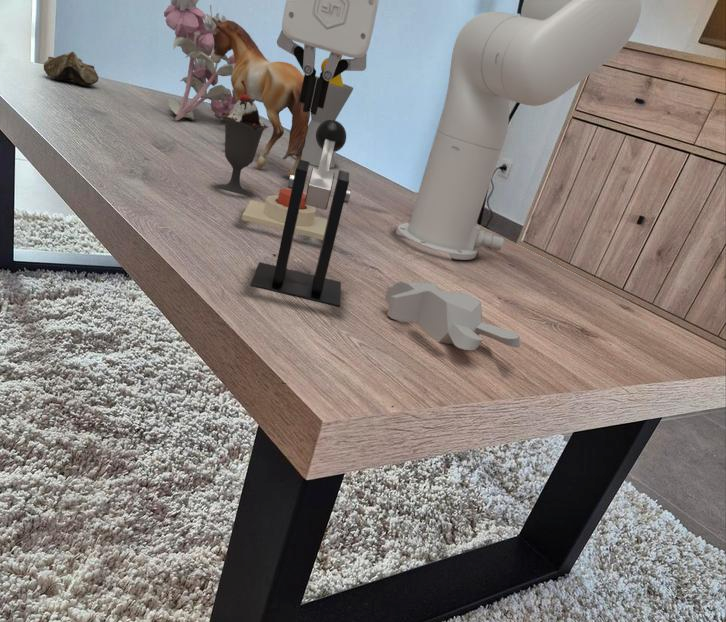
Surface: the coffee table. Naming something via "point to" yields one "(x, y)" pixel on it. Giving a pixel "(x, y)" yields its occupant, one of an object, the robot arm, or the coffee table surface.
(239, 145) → the sundae
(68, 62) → the fossilized seashell
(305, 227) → the button block
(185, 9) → the flower
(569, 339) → the coffee table surface
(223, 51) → the horse figurine
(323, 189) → the press lever
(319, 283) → the lever bracket
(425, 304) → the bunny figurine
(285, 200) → the button
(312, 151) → the lava lamp
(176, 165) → the coffee table surface
